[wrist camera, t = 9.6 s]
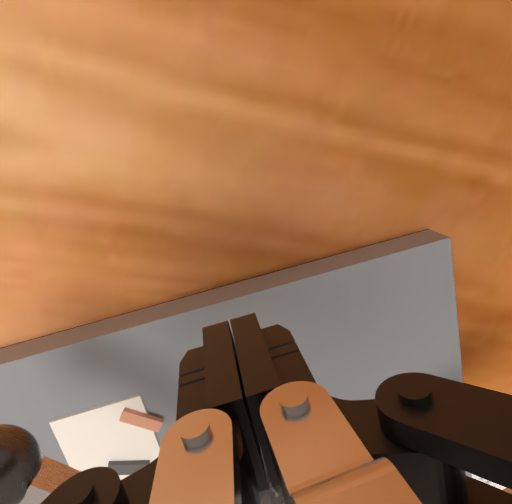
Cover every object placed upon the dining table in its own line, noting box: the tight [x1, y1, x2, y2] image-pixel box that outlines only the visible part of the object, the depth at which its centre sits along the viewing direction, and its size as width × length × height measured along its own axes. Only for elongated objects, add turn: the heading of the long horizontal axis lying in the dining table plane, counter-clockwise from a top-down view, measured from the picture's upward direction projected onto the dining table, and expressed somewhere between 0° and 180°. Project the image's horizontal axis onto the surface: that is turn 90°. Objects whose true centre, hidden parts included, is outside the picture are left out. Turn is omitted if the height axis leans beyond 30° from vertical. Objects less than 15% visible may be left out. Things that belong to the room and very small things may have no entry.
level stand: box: [0, 229, 472, 480], centre depth 23 cm, size 26×20×2 cm
